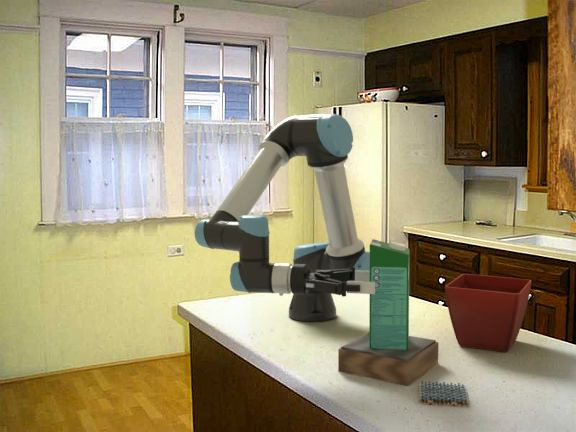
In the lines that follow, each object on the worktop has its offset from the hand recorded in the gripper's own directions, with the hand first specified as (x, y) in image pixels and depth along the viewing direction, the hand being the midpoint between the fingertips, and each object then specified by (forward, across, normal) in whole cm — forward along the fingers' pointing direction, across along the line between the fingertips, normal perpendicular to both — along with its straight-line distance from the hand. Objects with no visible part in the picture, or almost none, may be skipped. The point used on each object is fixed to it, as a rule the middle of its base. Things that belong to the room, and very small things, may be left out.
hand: (378, 282), depth 161 cm
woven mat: (+16, +16, -22) cm, 32 cm away
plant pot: (+27, -25, -21) cm, 43 cm away
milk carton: (+3, 0, -15) cm, 15 cm away
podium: (+3, 0, -21) cm, 21 cm away
